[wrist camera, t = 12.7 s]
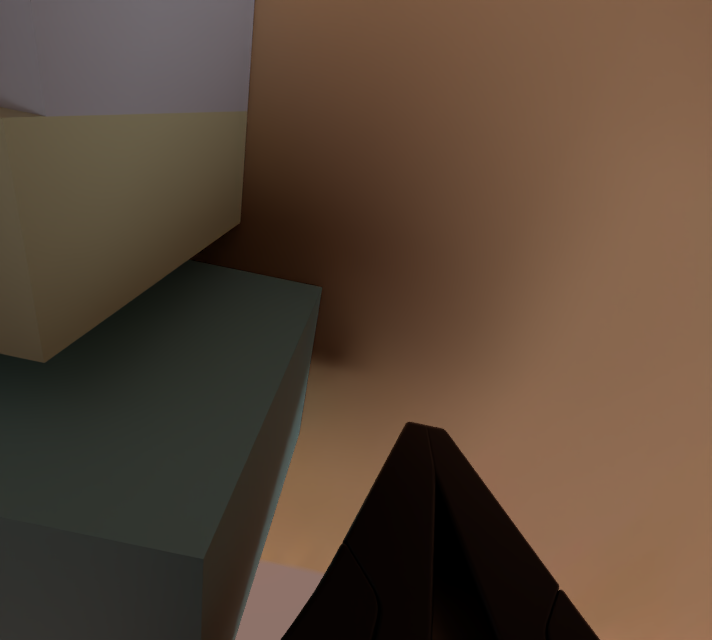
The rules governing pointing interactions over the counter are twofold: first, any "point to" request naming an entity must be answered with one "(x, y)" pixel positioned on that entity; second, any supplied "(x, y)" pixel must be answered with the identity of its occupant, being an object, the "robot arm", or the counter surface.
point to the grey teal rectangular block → (152, 460)
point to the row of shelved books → (113, 153)
